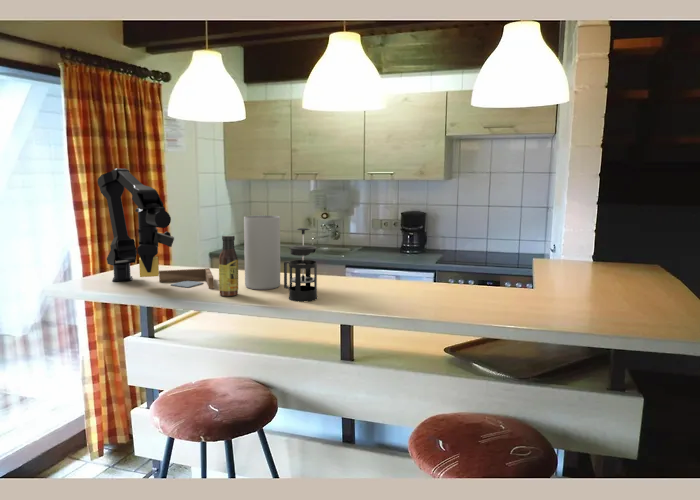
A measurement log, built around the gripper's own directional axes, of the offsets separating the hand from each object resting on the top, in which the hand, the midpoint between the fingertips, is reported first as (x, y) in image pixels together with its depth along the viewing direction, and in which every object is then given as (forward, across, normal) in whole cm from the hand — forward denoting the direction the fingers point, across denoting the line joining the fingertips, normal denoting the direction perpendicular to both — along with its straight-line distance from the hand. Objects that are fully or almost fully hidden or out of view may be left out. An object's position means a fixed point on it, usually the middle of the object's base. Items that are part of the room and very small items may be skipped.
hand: (149, 270), depth 178 cm
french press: (+6, -29, -47) cm, 56 cm away
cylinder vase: (+6, -8, -38) cm, 39 cm away
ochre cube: (+2, 0, 0) cm, 2 cm away
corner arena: (+6, +3, -12) cm, 14 cm away
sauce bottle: (+6, -18, -25) cm, 31 cm away
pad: (+6, +2, -12) cm, 14 cm away
